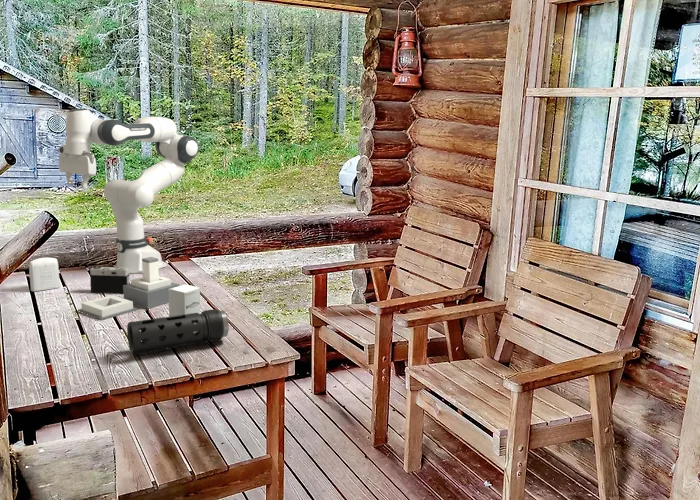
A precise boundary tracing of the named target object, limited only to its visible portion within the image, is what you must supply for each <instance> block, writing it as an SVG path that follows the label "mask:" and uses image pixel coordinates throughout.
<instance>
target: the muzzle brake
mask: <svg viewBox="0 0 700 500" xmlns="http://www.w3.org/2000/svg"><path fill="white" fill-rule="evenodd" d="M229 328H230V327H229V319H228V315H227V312H226V311H225V310H223V309H222V310H219V309H217V308H213V309H206V310H204V311H201V312H200V314H199V313H191V314H184V315H177V316H170V317H169V316H163V317H156V318H149V319H143V320H135V321H128V323H127V328H126V331H127V332H126V333H127V334H126V335H127V341H128V342H127V343H128V348H129V350H130V353H131V354H132V355H133V356H138V355H143V354H144V355H145V354H149V353H155V352H163V351H166V350H168V349H176V347H180V346H187V345H192V344H193V345H194V347H195V346H200V345H201V346H202V345H206V343H207V342H215V341H220V340H221V339H223V338H225V337H227V336H228V334H229Z"/></svg>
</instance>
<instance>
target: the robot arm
mask: <svg viewBox="0 0 700 500" xmlns="http://www.w3.org/2000/svg"><path fill="white" fill-rule="evenodd" d="M65 120H66V121H65V132H66V139H65V144H63V145H62V146H60V147H58V149H57V150H58V153H59V155H58V169H59V171H60V172H61V173H65V178H66V181H67V182H66V184H67V185H70V186H71V185H72V186H74V182H75V181H74V180H73V175H81V176H82V181H81V182H80V187H83V188H87V187H88V183H89V180H90V178H91V177H95V176H96V174H97V161H96V158H95V155H94V153H93V152H92V151H91V143H94V144H101V145H109V146H114V147H115V146H116V147H117V146H120V145H122V144H123V143H126V141H131V140H138V141H139V142H143V143H154V144H155V145H154V146H155V150H156V153H157V154H158V155H159V156H161V157H164V158H163V159H162V160H161V161H159V162H157V163H155V164H153V165H151V166H149V167H148V168H145V169H144V170H142V171H141V173H140V176H139V177H138V178H137V179H135V180H126V179H125V180H124V179H116V180H114V179H113V180H110V181H108V182H107V183H106V184H105V185H104V189H103V195H104V197H105V199H106V200H107V201H108V203H109V204H110V206H111V209H112V212H113V215H114V219H115V225H116V250H117V256H116V264H115V268H116V267H117V266H118V268H129V274H138V273H139V274H143V269H142V259H143V258H148V257H154V258H158V266H159V269H162V268H164V267H165V268H166V267H168V263H167V262H165V261H163V258H162V255H161V253H160V252H159V251H158V250H156V249H155V247H152V246H150V245H149V243H153V238H152V237H145V226H144V219H143V217H142V216H141V214H140V213H139V210H138V209H144V208H148V207H149V206H151V205H152V204H153V202H154V199H155V195H157V194H158V193H159V192H160V191H162V190H164V189H166V188H167V187H169V186H171V185H172V184H175V182H177V181H178V180H179V179H180V178H181V177H183V175H184V174H185V169H186V168H185V164H186V165H188V164H190V163H191V161H192V160H193V159H195V158H196V156H197V155H198V153H199V149H200V145H199V142H198V141H197V139H195V138H194V137H192V136H190V135H182V134H178V132H177V131H178V130H177V128H178V127H177V125H176V123H175V121H173V119H170V118H169V117H168V118H167V117H163V116H144V117H140V118H137V119H136V120H135V122H134V123H124V122H122V121H120V120H117V119H101V118H100V117H97V116H95V114H93V113H92V112H91V111H90V109H88V108H72V109H69V110H68V112H67V115H66V119H65Z"/></svg>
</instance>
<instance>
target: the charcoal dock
mask: <svg viewBox="0 0 700 500" xmlns="http://www.w3.org/2000/svg"><path fill="white" fill-rule="evenodd" d="M178 286H180V284H179V283H176V282H172V279H171V278H168V277H163V276H160V275H159V281H155V282H151V283H148V282H145V281H143V276H142V277H137V278H134V279H130V283H129V284H127V285H123V293H124V294H123V299H126V300H129V301H132V302H133V306H134V305H135V306H138V307H141V308H144V309H147V310H149V309H148V308H150V309H153V308H155V307H159V306H163V305H167V304H169V290H168V289H171V288H174V287H178Z"/></svg>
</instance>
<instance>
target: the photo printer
mask: <svg viewBox="0 0 700 500" xmlns="http://www.w3.org/2000/svg"><path fill="white" fill-rule="evenodd" d="M28 266H29V267H28V268H29V269H28V271H29V282H30V291H31V292H39V291H46V290H53V289H60V273H59V262H58V259H57V258H54V257H39V258H36V259H33V260H31V261H29V263H28Z"/></svg>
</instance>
